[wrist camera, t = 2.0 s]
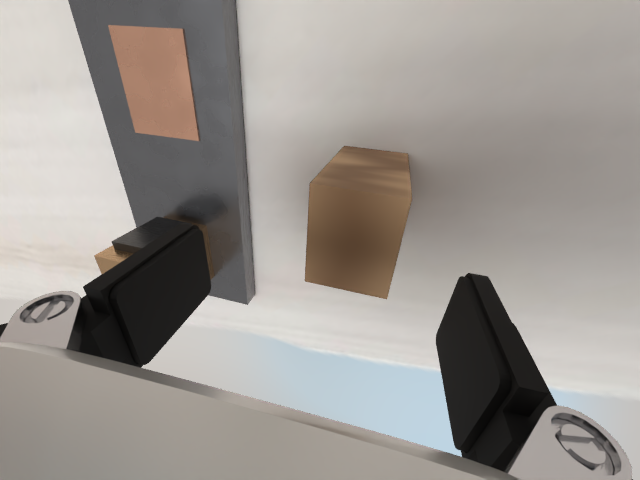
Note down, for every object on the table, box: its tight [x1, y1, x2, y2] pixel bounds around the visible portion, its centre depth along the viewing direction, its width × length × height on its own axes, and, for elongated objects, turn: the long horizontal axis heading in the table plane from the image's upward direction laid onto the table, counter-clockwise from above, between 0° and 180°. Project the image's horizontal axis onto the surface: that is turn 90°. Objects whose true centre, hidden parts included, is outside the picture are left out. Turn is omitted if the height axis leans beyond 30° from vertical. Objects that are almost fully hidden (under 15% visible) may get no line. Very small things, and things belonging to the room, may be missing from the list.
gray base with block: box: [68, 0, 255, 305], centre depth 19 cm, size 10×22×8 cm, turn 176°
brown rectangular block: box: [305, 146, 412, 299], centre depth 16 cm, size 4×6×8 cm
